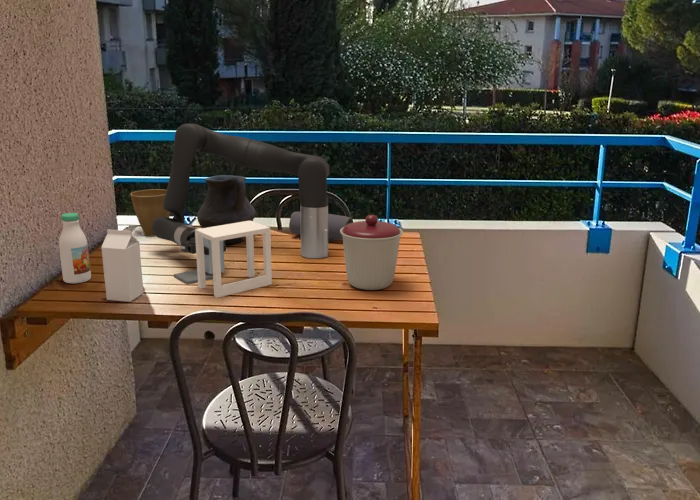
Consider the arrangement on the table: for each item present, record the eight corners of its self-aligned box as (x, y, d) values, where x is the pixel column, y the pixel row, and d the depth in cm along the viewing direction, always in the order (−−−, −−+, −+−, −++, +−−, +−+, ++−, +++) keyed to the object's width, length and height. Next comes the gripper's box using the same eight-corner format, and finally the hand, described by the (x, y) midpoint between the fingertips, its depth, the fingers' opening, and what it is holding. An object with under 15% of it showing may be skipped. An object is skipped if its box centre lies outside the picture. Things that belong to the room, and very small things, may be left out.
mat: (173, 276, 191) (173, 274, 191) (200, 271, 197) (200, 268, 197) (187, 284, 185) (187, 281, 184) (214, 278, 190) (214, 275, 190)
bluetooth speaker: (288, 239, 235) (288, 212, 232) (300, 233, 243) (299, 207, 240) (344, 246, 226) (344, 219, 223) (354, 240, 234) (354, 213, 231)
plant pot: (181, 230, 245) (178, 189, 241) (164, 240, 231) (160, 197, 227) (145, 228, 248) (142, 187, 243) (126, 237, 234) (122, 195, 229)
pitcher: (236, 231, 244) (233, 167, 238) (269, 242, 229) (267, 174, 222) (188, 240, 231) (184, 172, 224) (220, 253, 216) (216, 180, 209)
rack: (198, 287, 182) (194, 229, 178) (251, 275, 194) (250, 220, 189) (216, 297, 174) (213, 237, 170) (271, 284, 186) (270, 227, 181)
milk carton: (130, 302, 170) (124, 234, 165) (106, 300, 172) (99, 232, 166) (143, 293, 177) (138, 227, 172) (120, 291, 178) (114, 226, 173)
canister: (404, 277, 193) (407, 210, 187) (396, 297, 176) (399, 224, 170) (346, 273, 196) (347, 206, 191) (333, 292, 179) (333, 220, 174)
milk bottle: (64, 285, 183) (56, 218, 177) (62, 277, 189) (54, 212, 184) (92, 281, 186) (85, 215, 181) (89, 274, 193) (82, 210, 187)
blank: (202, 269, 193) (199, 228, 190) (216, 266, 197) (214, 226, 193) (209, 274, 190) (207, 232, 186) (224, 270, 193) (222, 229, 189)
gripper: (168, 230, 196) (193, 242, 184) (210, 223, 205) (237, 234, 193) (170, 253, 198) (195, 266, 186) (211, 245, 207) (238, 257, 195)
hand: (216, 250), depth 189 cm, fingers closed on blank, 5 cm apart
